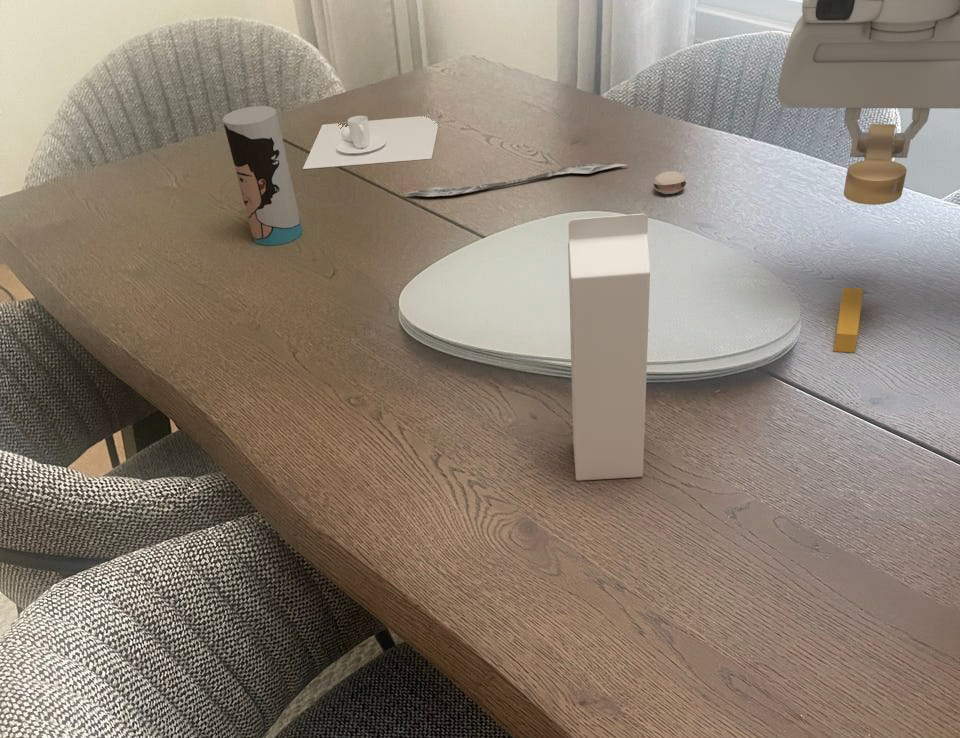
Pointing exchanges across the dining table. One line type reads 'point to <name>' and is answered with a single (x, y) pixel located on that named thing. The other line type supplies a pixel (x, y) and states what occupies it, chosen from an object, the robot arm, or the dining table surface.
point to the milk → (609, 343)
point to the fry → (848, 320)
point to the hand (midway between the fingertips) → (877, 155)
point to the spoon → (876, 170)
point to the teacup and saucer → (373, 142)
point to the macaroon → (669, 182)
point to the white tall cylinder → (263, 174)
